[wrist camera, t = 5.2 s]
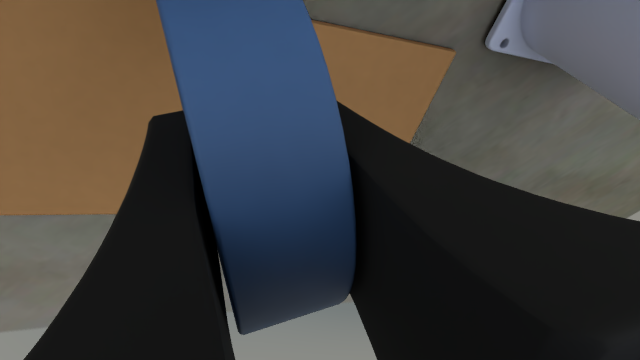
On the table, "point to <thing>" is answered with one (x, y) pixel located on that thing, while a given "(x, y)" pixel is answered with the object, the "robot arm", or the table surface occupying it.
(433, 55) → the mat
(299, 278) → the blue disc
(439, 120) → the table surface
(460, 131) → the table surface
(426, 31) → the table surface
